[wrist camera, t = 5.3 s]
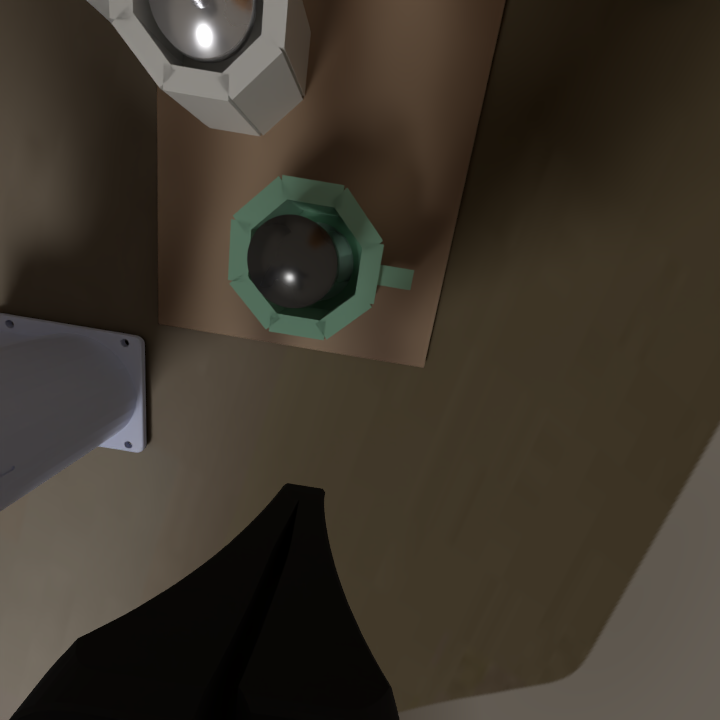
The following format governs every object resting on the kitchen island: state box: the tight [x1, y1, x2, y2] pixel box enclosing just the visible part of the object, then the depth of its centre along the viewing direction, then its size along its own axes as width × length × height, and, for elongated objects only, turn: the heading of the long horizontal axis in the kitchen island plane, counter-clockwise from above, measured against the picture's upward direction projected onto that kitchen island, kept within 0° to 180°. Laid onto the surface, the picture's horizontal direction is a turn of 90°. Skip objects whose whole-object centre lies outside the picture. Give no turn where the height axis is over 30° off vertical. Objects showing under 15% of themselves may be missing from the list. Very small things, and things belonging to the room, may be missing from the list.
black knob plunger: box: [247, 214, 354, 308], centre depth 16 cm, size 4×4×6 cm
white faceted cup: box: [87, 0, 311, 136], centre depth 15 cm, size 8×7×4 cm
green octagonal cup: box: [228, 175, 414, 340], centre depth 17 cm, size 8×7×4 cm
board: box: [157, 0, 506, 368], centre depth 18 cm, size 16×19×1 cm
